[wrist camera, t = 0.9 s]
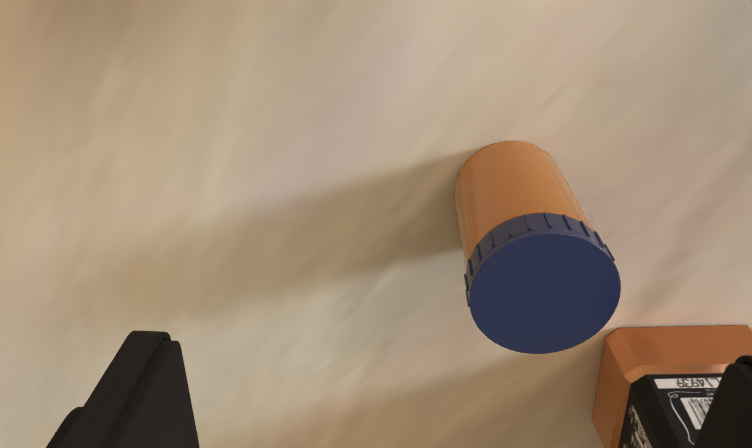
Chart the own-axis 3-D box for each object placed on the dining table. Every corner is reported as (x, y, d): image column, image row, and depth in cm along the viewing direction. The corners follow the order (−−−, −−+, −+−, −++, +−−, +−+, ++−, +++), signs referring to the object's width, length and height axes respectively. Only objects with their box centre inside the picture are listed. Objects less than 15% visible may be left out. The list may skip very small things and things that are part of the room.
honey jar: (544, 123, 34) (595, 208, 25) (573, 215, 37) (629, 322, 28) (438, 164, 36) (449, 258, 26) (474, 249, 38) (496, 361, 29)
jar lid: (589, 190, 26) (601, 210, 24) (624, 305, 29) (637, 330, 27) (443, 240, 28) (446, 262, 26) (490, 345, 31) (495, 371, 29)
